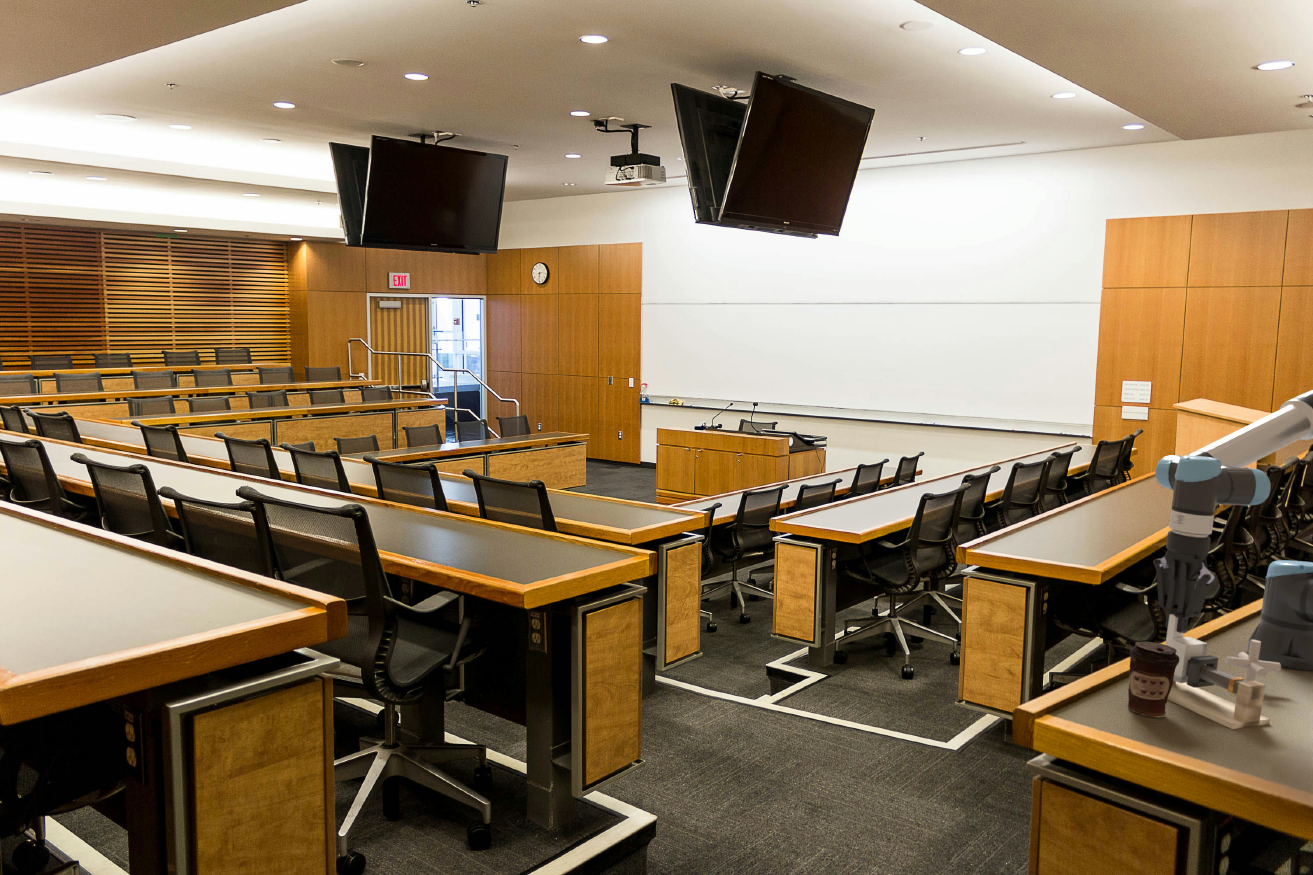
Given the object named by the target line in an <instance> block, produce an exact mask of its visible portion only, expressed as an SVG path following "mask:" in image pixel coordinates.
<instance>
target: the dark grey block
mask: <svg viewBox="0 0 1313 875" xmlns="http://www.w3.org/2000/svg"><path fill="white" fill-rule="evenodd" d="M1218 663H1219V657H1216V656H1213V655H1206V656H1199V657H1191V659H1190V666H1189V673H1188V680H1187V685H1189V686H1191V687H1194V688H1196V687H1197V688H1203V687H1212V686H1215V684H1213V683H1210V682H1208V681H1206V680H1203V679H1201V678H1199V675H1200V668H1201V665H1204V664H1205V665H1207V666H1209V667H1212V668H1214V669H1217V670H1218Z"/></svg>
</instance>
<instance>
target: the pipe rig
mask: <svg viewBox="0 0 1313 875" xmlns="http://www.w3.org/2000/svg"><path fill="white" fill-rule="evenodd" d="M1189 666H1190V660H1188V665H1187V673H1189ZM1199 678H1201V679H1203V680H1206V681H1208V682H1210V683H1213V684H1214V686H1218V687H1220V688H1223V689H1225V690H1227V692H1228V693H1231V694H1236V700H1235V702H1232V701H1229V700H1227V699H1225V698H1223V697H1220V696H1218V695H1215V694H1214V693H1211V692H1208V691H1206V690H1203V689H1201V688H1200V687H1196V688H1194V687H1191V686H1189V685H1187V683H1179V682H1176V681H1174V680H1173V684H1172V688H1171V691H1170V693H1169V695H1168V699H1167V701H1170V702H1172V703H1174V704H1177V705H1179V706H1180V707H1183V708H1185V709H1188V710H1189V711H1192V712H1194V713H1197V714H1198V715H1200V716H1203V717H1205V718H1207V719H1209V720H1211V721H1214V722H1216V723H1218V724H1220V725H1222V726H1224V727H1227V728H1229V729H1231V730H1234V729H1235V730H1236V729H1237V730H1238V729H1242V728H1243V729H1244V728H1251V727H1258V726H1266V725H1269V724H1270V720H1271V719H1270V718H1269V717H1267V716H1264V715H1262V710H1263V708H1262V707H1263V703H1264V696H1265V689H1266V684H1264V683H1262V682H1259V681H1257V680H1255V681H1248V682H1247V681H1245V678H1244V677H1240V676H1234V675H1231V674H1229V673H1226V672H1224V671H1222V670H1219V669H1218V668H1217V669H1214V668H1212V667H1209V666H1207V665H1206V664H1205V665H1201V668H1200V675H1199Z"/></svg>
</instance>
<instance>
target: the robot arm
mask: <svg viewBox="0 0 1313 875" xmlns="http://www.w3.org/2000/svg"><path fill="white" fill-rule="evenodd" d="M1312 439H1313V389H1311V390H1309V391H1306V392H1304V393H1301V394H1299V395H1297V396H1295V397H1292V398H1291V399H1289V400H1287V401H1285V402H1283V403H1282V404H1281V405H1280V407H1279V410H1277V411H1274V412H1272V413H1271V414H1268V415H1266V416H1265V417H1262V418H1260V419H1258V420H1256V421H1254V422H1252V423H1250V424H1248V425H1246V426H1244V427H1242V428H1240V429H1237V430H1236V431H1234V432H1232V433H1230V434H1228V435H1225V436H1224V437H1221V438H1218V440H1215V441H1214V442H1211V443H1210V444H1207V445H1205V446H1203V447H1201V448H1199V449H1197V450H1195V451H1193V452H1191V453H1188V454H1186V455H1182V456H1181V455H1178V454H1175V455H1173V454H1171V455H1166V456H1164V457H1162V458H1161V459H1160V460H1159V461H1158V462H1157V465H1156V467H1155V470H1154V472H1155V478H1156V481H1157V483H1158V484H1159V485H1160V486H1161V487H1163V488H1165V489H1169V490H1171V491H1173V493H1172V502H1171V508H1170V509H1171V510H1170V517H1169V522H1168V528H1169V529H1170V530H1169V531H1167V535H1166V536H1167V537H1166V542H1165V548H1166V549H1167V551H1166V553H1165V554H1164V556H1162V557H1161V558H1155V559H1153V561H1152V562H1153V563H1152V564H1153V565H1154V568H1155V571H1156V572H1155V573H1156V585H1157V586H1156V587H1157V600H1158V601H1157V602H1158V606H1159V607H1160V608H1163V609H1164V610H1165V612H1166V616H1165V623H1164V624H1165V628H1166V629H1167V630H1166V631H1167V632H1166V639H1165V644H1164V645H1167V644H1168V639H1170V638H1181V637H1184V634H1185V633H1187V631H1188V625H1189V624H1188V623H1189V619H1190V618H1191V617H1193V618H1194V617H1195V618H1196V617H1199V615H1200V613H1201V612H1202V609H1203V606H1204V604H1205V601H1206V599H1207V596H1208V593H1209V591H1210V589H1211V586H1212V584H1213V583H1215V581H1216V580H1217V579H1218V576H1217V574H1215V573H1212V572H1211V571H1210V570H1209V569H1208V564H1207V563H1208V562H1207V557H1208V555H1209V552H1210V546H1211V538H1210V535H1212V534H1213V527H1214V526H1213V525H1214V519H1215V513H1216V512H1215V510H1216V505H1230V506H1231V505H1232V506H1243V507H1247V506H1255V505H1260V504H1262V503H1264V502H1265V501H1266V500H1267V499H1268V498H1269V496H1270V493H1271V488H1272V487H1271V481H1270V478H1269V477H1268V475H1267V474H1266V473H1265V472H1264V471H1262V470H1261V469H1258V468H1252V467H1248V466H1249V465H1251V464H1253V463H1255V462H1257V461H1259V460H1261V459H1263V458H1265V457H1267V456H1269V455H1272V454H1273V453H1275V452H1278V451H1280V450H1281V449H1283V448H1285V447H1287V446H1290V445H1291V444H1293V443H1295V442H1298V441H1300V440H1302V441H1303V440H1304V441H1309V440H1312ZM1262 597H1263V598H1262V605H1261V612H1260V618H1259V622H1258V624H1257V625H1256V627H1255V629H1254V631H1253V632H1252V634H1251V635H1250V637H1249V639H1248V641H1247V646H1246V652H1247V653H1248V654H1249V649H1250V642H1251V640H1258V641H1260V642H1261V646H1260V652H1259V659H1258V660H1261V661H1269V662H1277V663H1280V664H1281V667H1283V668H1289V669H1293V670H1300V671H1301V670H1302V671H1310V670H1313V562H1311V561H1301V560H1275V561H1272V562H1271V563H1270V564H1269V566H1268V568H1267V574H1266V576H1265V582H1264V591H1263V596H1262Z"/></svg>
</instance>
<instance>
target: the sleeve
mask: <svg viewBox="0 0 1313 875" xmlns="http://www.w3.org/2000/svg"><path fill="white" fill-rule="evenodd" d="M1167 645H1168V646H1170V647H1172V648H1175V649H1176V650H1177V651H1176V655H1178V656H1179V658H1180V659H1179V663H1178V665H1177V666H1176V668H1175V673H1174V679H1173V680H1174V681H1176V682H1179V683H1187V680H1188V673H1187V665H1188V660H1190V659H1191V657H1199V656H1207V649H1208V642H1204V641H1201V640H1199V639H1197V638H1194V637H1192V636H1183V637H1181V638H1170V639H1168V644H1167ZM1204 665H1206V664H1204Z"/></svg>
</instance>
